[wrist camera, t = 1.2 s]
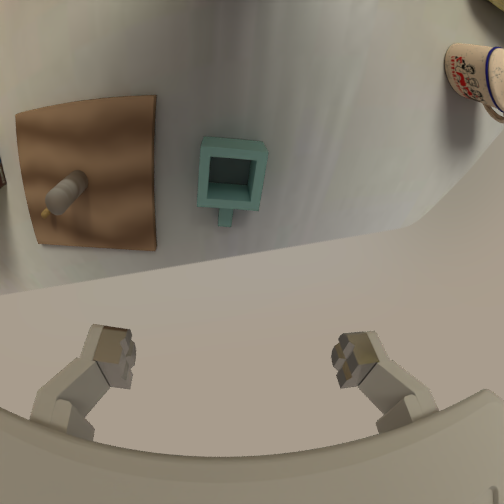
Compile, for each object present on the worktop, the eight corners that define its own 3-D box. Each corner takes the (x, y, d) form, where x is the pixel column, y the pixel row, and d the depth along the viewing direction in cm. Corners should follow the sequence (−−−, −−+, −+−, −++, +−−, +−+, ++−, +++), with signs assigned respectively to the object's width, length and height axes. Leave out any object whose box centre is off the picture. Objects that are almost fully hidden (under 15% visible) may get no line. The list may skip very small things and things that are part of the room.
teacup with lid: (433, 52, 22) (497, 62, 13) (465, 34, 19) (524, 43, 10) (462, 124, 28) (518, 151, 19) (490, 101, 25) (543, 123, 16)
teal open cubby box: (204, 136, 28) (200, 146, 25) (262, 141, 29) (268, 152, 26) (198, 216, 34) (195, 236, 31) (250, 220, 35) (253, 240, 32)
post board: (20, 112, 22) (-14, 127, 16) (156, 95, 25) (137, 101, 19) (41, 239, 33) (20, 268, 27) (156, 245, 36) (146, 281, 30)
